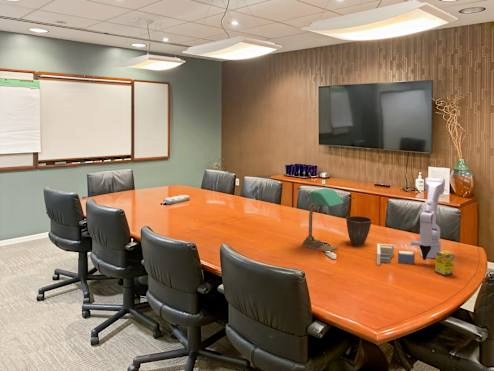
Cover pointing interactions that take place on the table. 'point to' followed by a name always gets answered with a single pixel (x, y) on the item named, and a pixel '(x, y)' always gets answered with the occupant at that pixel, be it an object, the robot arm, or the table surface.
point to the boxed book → (406, 257)
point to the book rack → (384, 253)
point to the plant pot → (358, 229)
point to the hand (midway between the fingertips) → (424, 259)
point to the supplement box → (444, 262)
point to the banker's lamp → (316, 197)
